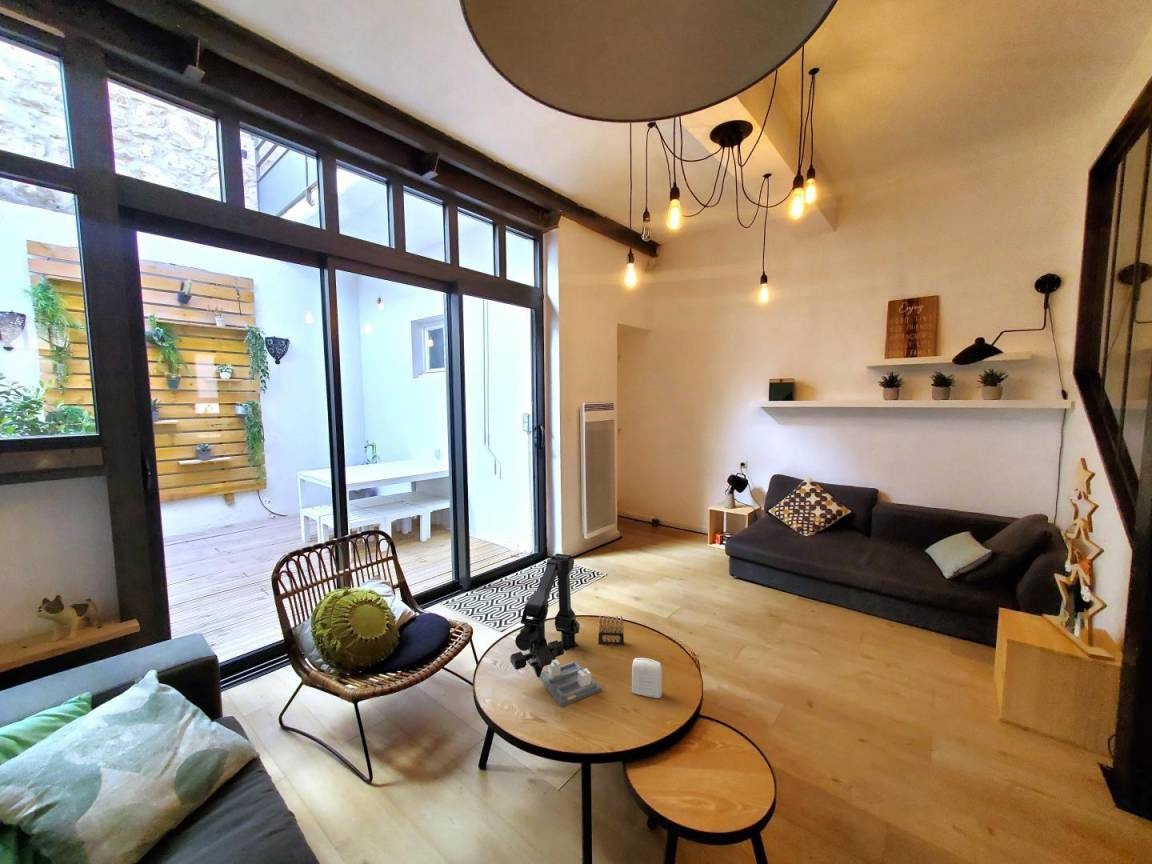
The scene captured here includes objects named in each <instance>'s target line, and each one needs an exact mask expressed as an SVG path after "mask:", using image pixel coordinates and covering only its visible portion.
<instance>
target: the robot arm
mask: <svg viewBox="0 0 1152 864" xmlns="http://www.w3.org/2000/svg"><path fill="white" fill-rule="evenodd" d="M574 565H575V558H574V556H572V555H571V554H565V553H557V552H556V553H555V554H554V555H552V556H550V557H549V559H547V561H546V565H545V566H546V567H545V570H544V572H543V574H542V576H541V579H540V581H539V583H538V586H537V588H536V590H535V592H534V593H532V594H531V595H530V596H529V598H528V600H527V601H526V603H525V605H524V607H523V612H522V616H521V619H520V624H521V625H524V626H523V627H522V628H521V629H520V630H519V633H518V634H517V635H516V637H515V639H514V641H515V642H514V643H515V646H516V647H517V648H518V649H519V650H520V651H518V652H515V653H512V654H511V655H510V657H509V659H510V660H509V661H510V663H511V665H512V667H513V668H514V670H517V671H518V670H521V669H524V668H526V666H527V663H528V665H530V667H532V669H533V671H534V673H535V676H536V678H539V677H540V675H541V673H543V668H544V667H546V666H548V665H550V664H551V663H552V660H556V658H557V657H560V656H563V655H564V654H565V651H568V650H571V649H573V648H577V647H579V644H578V642H576V635H577V634H579V632H580V628H581V627H580V625H581V624H580V623H579V621H577V618H576V613H575V612H574V610H573V609H572V602H571V601H572V600H571V579H570V578H571V577H570V575H571V574H572V571H573V569H574ZM556 579H557V588H558V589H557V591H558V611H557V614H556V615H555V617H554V626H555V630H556V632H559V633H560V638H561V639H560V641H559V640H558V639H557V640H553V641H550V642H548V640H547V639H546V630H545V629H546V628H545V622H546V619H547V617H548V616H547V615H548V613H549V600H548V599H549V596H550V594H551V591H552V589H553V586H554V583H555V581H556ZM527 617H530V618H527ZM522 651H523V652H525V651H528V652H529V653H526V654H523V653H522Z"/></svg>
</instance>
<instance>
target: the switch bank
mask: <svg viewBox="0 0 1152 864" xmlns="http://www.w3.org/2000/svg"><path fill="white" fill-rule="evenodd" d="M582 669H585V667H583V665H582V664H581V663H580V662H579V661H578V660H574V661H570V662H568V663H565V664H562V665H560V671H561V675H559V676H556V677H553V678H550V676H549V675H548V669H547V670H544V671H542V672H541V675H540V677H538V678H539V679H540V681H541V682H542V683H543V685H544V686H545V688H546V689H547V691H548V692H549V693H550V695H551V696H552V697H553V698H554V700H555V702H556V703H557V704H558V706H559V707H563V706H566V705H568V704H571V703H574V702H576V701H578V700H581V699H584V698H586V697H589V696H592V695H594V694H596V693H599V692H601V691H602V686H601V685H600V684H599V683H598V682H597V681H596V679H594V678H593V676H591V684H590V685H588V686H585V687H583V688H581V687H580V686H579V685H578V671H579V670H582Z"/></svg>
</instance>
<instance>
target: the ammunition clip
mask: <svg viewBox="0 0 1152 864" xmlns="http://www.w3.org/2000/svg"><path fill="white" fill-rule="evenodd" d="M623 619H624V618H623V616H620V619H619V617H618V615H617V616H616V617H614V615H612V616H611V618H610V615H607V617H606V615H603V617H602V616H601V615H599V617H598V636H597V637H598V638H597V639H598V641H597V642H598V643H597V644H598V645H610V644H613V645H612V646H624V645H625V636H624V635H625V634H624V633H625V632H624V627H625V626H624V620H623Z"/></svg>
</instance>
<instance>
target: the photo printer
mask: <svg viewBox="0 0 1152 864" xmlns="http://www.w3.org/2000/svg"><path fill="white" fill-rule="evenodd" d="M632 661H633V662H632V665H631V692H632V693H633V694H635V695H639V696H643V697H648V698H649V697H650V698H653V699H654V698H655V699H661V697H662V695H663V694H662V693H663V686H662V685H663V684H662V682H663V681H662V680H663V673H662V672H663V668H662V664H661V662H659V661H657V660H654V659H652V658H647V657H635V658H634V659H633V660H632Z"/></svg>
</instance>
